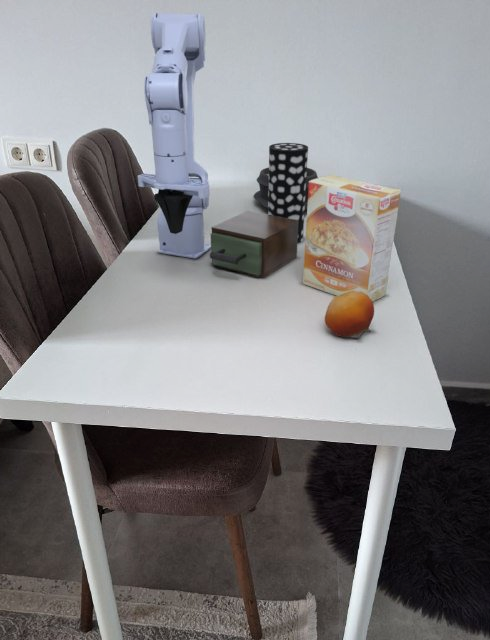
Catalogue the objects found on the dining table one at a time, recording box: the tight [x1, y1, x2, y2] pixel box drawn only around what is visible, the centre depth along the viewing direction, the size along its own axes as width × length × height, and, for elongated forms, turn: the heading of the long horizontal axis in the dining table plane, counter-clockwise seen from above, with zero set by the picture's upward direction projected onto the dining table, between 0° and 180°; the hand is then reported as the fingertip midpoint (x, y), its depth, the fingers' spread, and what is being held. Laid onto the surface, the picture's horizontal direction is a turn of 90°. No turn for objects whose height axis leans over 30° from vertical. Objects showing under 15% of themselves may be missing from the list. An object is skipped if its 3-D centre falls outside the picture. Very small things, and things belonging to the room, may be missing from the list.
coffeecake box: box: [302, 174, 402, 303], centre depth 104 cm, size 15×7×20 cm, turn 46°
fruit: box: [324, 291, 375, 340], centre depth 94 cm, size 8×8×8 cm
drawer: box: [209, 232, 262, 276], centre depth 116 cm, size 17×11×6 cm
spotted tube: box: [267, 142, 309, 244], centre depth 127 cm, size 8×8×20 cm
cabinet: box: [211, 210, 299, 279], centre depth 119 cm, size 14×13×8 cm
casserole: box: [253, 166, 319, 211], centre depth 154 cm, size 25×19×8 cm
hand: (176, 232), depth 105 cm, fingers closed
